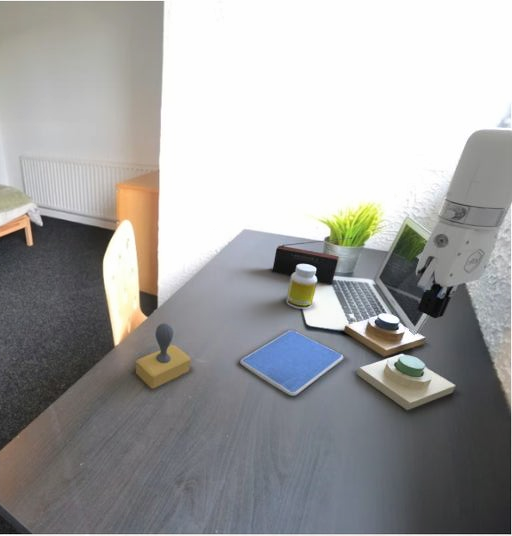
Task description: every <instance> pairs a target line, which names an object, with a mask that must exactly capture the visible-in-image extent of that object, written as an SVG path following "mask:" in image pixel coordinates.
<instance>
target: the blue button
mask: <svg viewBox="0 0 512 536" xmlns="http://www.w3.org/2000/svg"><path fill="white" fill-rule="evenodd" d="M377 316H378V318H377V321H376V325H377V326H379V327H380V328H383V329H386V330H393V331H395V330H396V329H397V327H398V325H399V323H401V320H400V319H399V317H397V316H395V315H393V314H390V313H384V312H383V313H379V314H378V315H377Z"/></svg>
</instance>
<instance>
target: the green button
mask: <svg viewBox="0 0 512 536" xmlns="http://www.w3.org/2000/svg"><path fill="white" fill-rule="evenodd" d="M425 367H426V364H425V362H423V361H422V360H421V359H419V358H418V357H416V356H413V355H408V354H404V355H402V356H400V357H399V359H398V361H397V364H396V368H397V370H398V371H400V372H401V373H403V374H405V375H408V376H411V377H420V376H421V375H422V373H423V370H424V368H425Z"/></svg>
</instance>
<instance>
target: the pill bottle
mask: <svg viewBox="0 0 512 536" xmlns="http://www.w3.org/2000/svg"><path fill="white" fill-rule="evenodd" d="M315 274H316V268H315V267H314V266H312V265H308V264H298V265H297V266H296V272H294V273H293V274H292V275H291V276H290V278H289V285H288V289H287V293H286V294H287V295H286V301H285V302H286V304H287V305H288V306H290V307H292V308H295V309H299V310H307V309H310V308H311V307H312V304H313V301H314V296H315V293H316V288H317V283H318V282H317V278H316V276H315Z"/></svg>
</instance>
